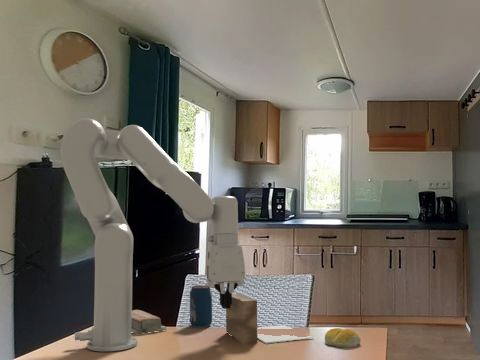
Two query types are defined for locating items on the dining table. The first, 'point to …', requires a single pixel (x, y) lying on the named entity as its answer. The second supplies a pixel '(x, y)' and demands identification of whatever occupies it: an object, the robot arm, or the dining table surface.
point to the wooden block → (242, 319)
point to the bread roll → (342, 338)
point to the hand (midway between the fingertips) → (225, 307)
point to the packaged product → (145, 322)
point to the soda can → (200, 306)
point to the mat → (274, 339)
